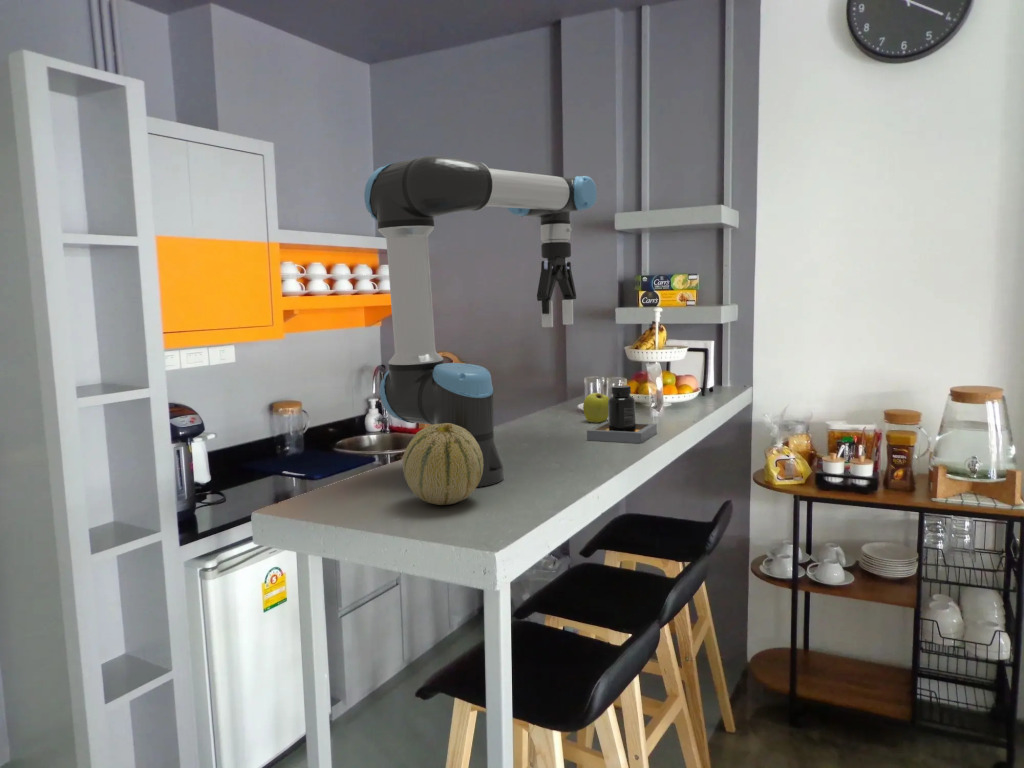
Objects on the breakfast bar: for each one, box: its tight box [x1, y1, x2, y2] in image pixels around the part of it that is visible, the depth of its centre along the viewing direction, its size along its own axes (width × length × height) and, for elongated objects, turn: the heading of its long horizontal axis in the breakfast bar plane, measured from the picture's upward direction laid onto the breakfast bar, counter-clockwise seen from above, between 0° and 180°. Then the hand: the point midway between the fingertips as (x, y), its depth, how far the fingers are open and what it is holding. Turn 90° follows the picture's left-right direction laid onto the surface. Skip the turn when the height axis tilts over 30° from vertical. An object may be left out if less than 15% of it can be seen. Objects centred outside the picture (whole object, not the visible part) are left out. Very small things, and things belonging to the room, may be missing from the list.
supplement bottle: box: [608, 385, 637, 432], centre depth 193 cm, size 7×7×12 cm
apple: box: [582, 388, 610, 424], centre depth 217 cm, size 8×8×10 cm
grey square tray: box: [586, 420, 658, 444], centre depth 194 cm, size 14×14×2 cm
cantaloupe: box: [402, 423, 484, 506], centre depth 137 cm, size 15×15×15 cm
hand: (558, 325), depth 195 cm, fingers open, 13 cm apart
